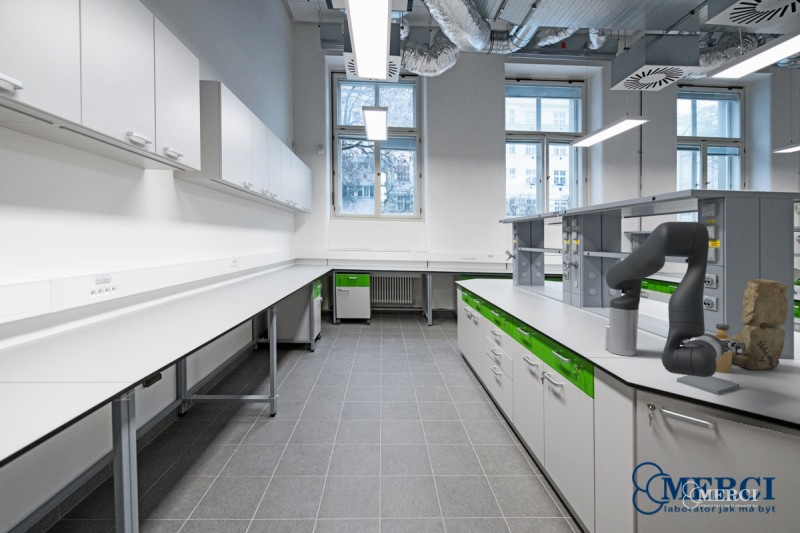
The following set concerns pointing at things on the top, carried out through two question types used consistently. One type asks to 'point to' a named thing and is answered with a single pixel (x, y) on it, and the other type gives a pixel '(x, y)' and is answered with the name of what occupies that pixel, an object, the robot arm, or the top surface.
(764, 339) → the sculpture
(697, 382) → the mat
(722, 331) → the bottle
